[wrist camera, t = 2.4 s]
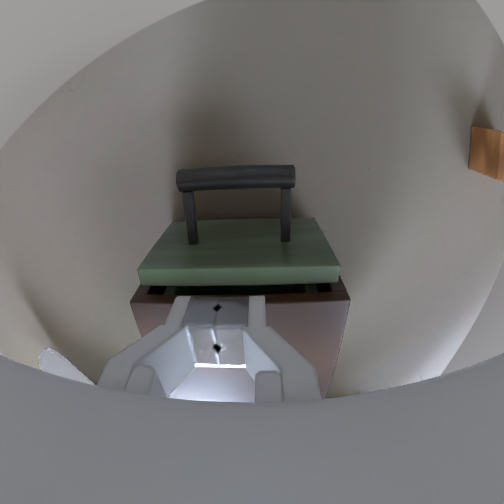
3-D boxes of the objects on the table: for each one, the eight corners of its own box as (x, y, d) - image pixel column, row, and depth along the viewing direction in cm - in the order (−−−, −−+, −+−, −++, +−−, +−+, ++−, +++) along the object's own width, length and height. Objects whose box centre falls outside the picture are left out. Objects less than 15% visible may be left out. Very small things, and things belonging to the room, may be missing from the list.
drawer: (165, 162, 20) (120, 186, 13) (316, 156, 20) (349, 176, 13) (196, 348, 29) (183, 407, 22) (302, 347, 28) (312, 407, 21)
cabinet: (171, 236, 24) (128, 301, 15) (318, 232, 23) (351, 299, 15) (196, 359, 31) (182, 428, 22) (304, 358, 30) (315, 429, 22)
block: (470, 125, 18) (500, 130, 14) (496, 134, 18) (524, 141, 14) (468, 168, 20) (497, 179, 16) (493, 174, 20) (520, 185, 16)
